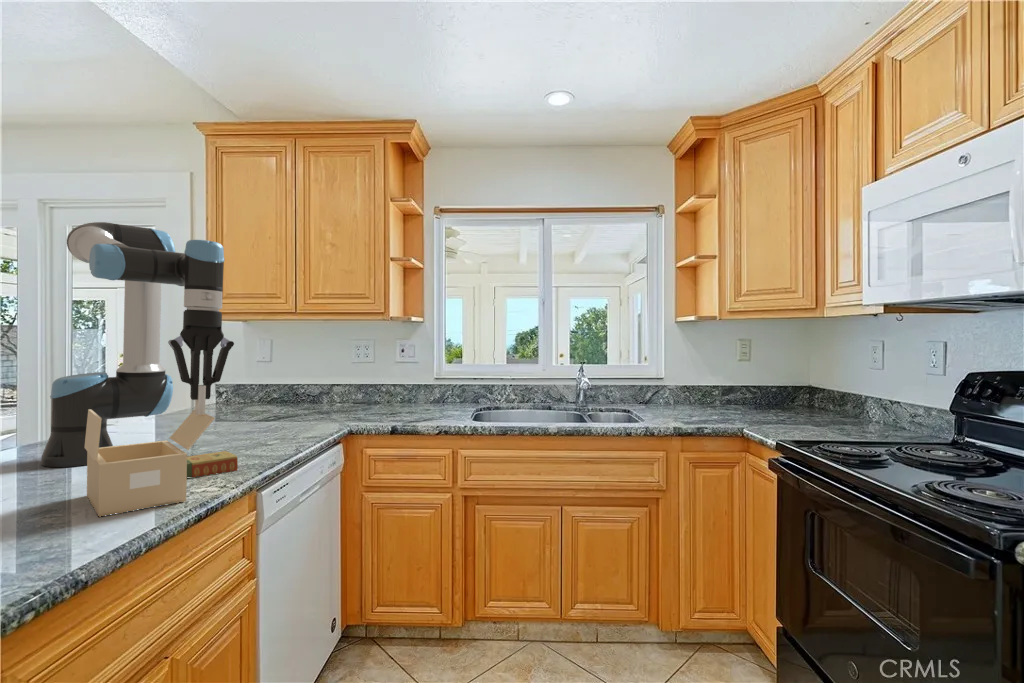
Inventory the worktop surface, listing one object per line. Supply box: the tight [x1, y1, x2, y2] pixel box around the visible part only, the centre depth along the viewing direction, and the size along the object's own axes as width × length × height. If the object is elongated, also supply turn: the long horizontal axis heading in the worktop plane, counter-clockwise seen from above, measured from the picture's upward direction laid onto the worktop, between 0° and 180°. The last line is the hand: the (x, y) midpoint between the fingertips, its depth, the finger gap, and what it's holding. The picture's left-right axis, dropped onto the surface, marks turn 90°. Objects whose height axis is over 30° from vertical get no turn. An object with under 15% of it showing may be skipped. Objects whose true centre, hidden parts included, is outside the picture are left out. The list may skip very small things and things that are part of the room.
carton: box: [187, 450, 239, 478], centre depth 132 cm, size 8×16×4 cm, turn 137°
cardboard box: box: [86, 440, 188, 518], centre depth 110 cm, size 18×14×10 cm
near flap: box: [84, 409, 102, 461], centre depth 105 cm, size 15×8×1 cm
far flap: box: [169, 408, 216, 451], centre depth 117 cm, size 15×8×1 cm
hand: (199, 413), depth 119 cm, fingers closed
